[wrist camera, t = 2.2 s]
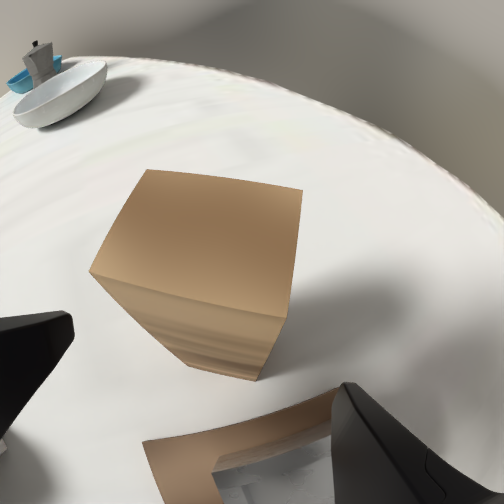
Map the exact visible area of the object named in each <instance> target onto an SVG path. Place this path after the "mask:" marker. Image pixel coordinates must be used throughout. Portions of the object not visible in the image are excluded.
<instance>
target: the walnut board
mask: <svg viewBox="0 0 504 504" xmlns="http://www.w3.org/2000/svg"><path fill="white" fill-rule="evenodd" d="M338 390H339V387H338V388H335V389H333V390H331V391H328V392H326V393H324V394H321V395H319V396H317V397H314V398H312V399H309V400H307V401H304V402H301V403H299V404H296V405H293V406H291V407H288V408H285V409H282V410H279V411H276V412H273V413H270V414H267V415H264V416H261V417H258V418H254V419H251V420H248V421H244V422H240V423H237V424H233V425H229V426H225V427H221V428H217V429H213V430H208V431H203V432H199V433H194V434H188V435H183V436H177V437H171V438H164V439H157V440H148V441H144V442H142V444H143V447H144V450H145V454H146V456H147V459H148V462H149V465H150V468H151V471H152V473H153V476H154V479H155V481H156V484H157V486H158V489H159V491H160V494H161V496H162V498H163V501H164V503H165V504H224V502H223V500H222V498H221V496H220V493H219V491H218V489H217V486H216V484H215V481H214V479H213V476H212V474H211V472H212V470H213V468H214V466H215V464H216V462H217V460H218V458H219V456H222V455H226V454H230V453H235V452H239V451H242V450H246V449H250V448H253V447H257V446H260V445H263V444H267V443H270V442H273V441H276V440H279V439H282V438H285V437H288V436H290V435H293V434H296V433H299V432H301V431H304V430H306V429H309V428H311V427H314V426H316V425H319V424H321V423H323V422H326V421H328V420H330V419H331V417H332V403H333V401H334V398H335V396H336V394H337V392H338Z"/></svg>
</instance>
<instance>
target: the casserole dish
mask: <svg viewBox="0 0 504 504" xmlns="http://www.w3.org/2000/svg"><path fill="white" fill-rule="evenodd" d="M61 59H62V55H59V56H53V61H54V63H53V67H54V69H55V71H56V73H58V71H59V70H60V67H61ZM6 84H7V85H8V86H9V88H10V89H11V90H12V91H14V92H16V93H26V92H28V91H30V90H31V89H33V88H34V87H33V80H32V76H30V74H29V72H28V70H27V68H26V69H24V70H23V71H21V72H20V73H18V74H17V75H15V76H14V77H13V78H11V79H10V80H9V81H8V82H7V83H6Z"/></svg>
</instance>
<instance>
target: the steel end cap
mask: <svg viewBox="0 0 504 504" xmlns="http://www.w3.org/2000/svg"><path fill="white" fill-rule="evenodd" d="M383 408H384V407H383ZM211 474H212V476H213V479H214V481H215V484H216V486H217V489H218V491H219V493H220V496H221V498H222V500H223V502H224V504H335V499H334V483H333V470H332V459H331V419H330V420H328V421H326V422H323V423H321V424H319V425H316V426H314V427H311V428H309V429H306V430H304V431H301V432H299V433H296V434H293V435H290V436H288V437H285V438H282V439H279V440H276V441H273V442H270V443H267V444H263V445H260V446H257V447H253V448H250V449H246V450H242V451H239V452H235V453H230V454H226V455H222V456H219V458H218V460H217V462H216V464H215V466H214V468H213V470H212V472H211Z"/></svg>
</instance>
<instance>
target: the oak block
mask: <svg viewBox="0 0 504 504" xmlns="http://www.w3.org/2000/svg"><path fill="white" fill-rule="evenodd" d="M302 193H303V190H299V189H293V188H288V187H282V186H277V185H271V184H265V183H258V182H252V181H245V180H239V179H232V178H224V177H217V176H209V175H200V174H192V173H182V172H172V171H161V170H149V169H147V170H146V171H145V173H144V174H143V176H142V177H141V179H140V180H139V182H138V183H137V185H136V187H135V188H134V190H133V191H132V193H131V194H130V196H129V198H128V199H127V201H126V203H125V204H124V206H123V208H122V209H121V211H120V213H119V214H118V216H117V218H116V220H115V221H114V223H113V225H112V227H111V229H110V230H109V232H108V234H107V236H106V238H105V240H104V242H103V244H102V245H101V247H100V249H99V251H98V253H97V255H96V257H95V259H94V261H93V263H92V265H91V268H90V270H89V273H90V274H91V275H92V276H93V277H94V278H95V279H96V281H97V282H98V283H99V284H100V285H101V286H102V287H103V288H104V289H105V290H106V291H107V292H108V293H109V294H110V296H111V297H112V298H113V299H114V300H115V301H116V302H117V303H118V304H119V305H120V306H121V307H122V308H123V309H124V310H125V311H126V312H127V313H128V314H129V315H130V316H131V317H132V318H133V319H135V320H136V321H137V322H138V323H139V324H140V325H141V326H142V327H143V328H144V329H145V330H146V331H147V332H148V333H150V334H151V335H152V336H153V337H154V338H155V339H156V340H157V341H159V342H160V343H161V344H162V345H163V346H164V347H165V348H167V349H168V350H169V351H170V352H171V353H172V354H174V355H175V356H176V357H177V358H178V359H180V360H181V361H182V362H183V363H185V364H186V365H187V366H189V367H193V368H196V369H200V370H204V371H208V372H212V373H217V374H221V375H225V376H230V377H235V378H240V379H245V380H250V381H256V380H257V378H258V376H259V374H260V372H261V370H262V368H263V366H264V364H265V362H266V360H267V358H268V356H269V354H270V352H271V350H272V348H273V346H274V344H275V342H276V340H277V337H278V335H279V333H280V331H281V329H282V327H283V325H284V323H285V321H286V318H287V313H288V306H289V299H290V292H291V285H292V278H293V270H294V263H295V255H296V247H297V239H298V230H299V221H300V212H301V203H302Z"/></svg>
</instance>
